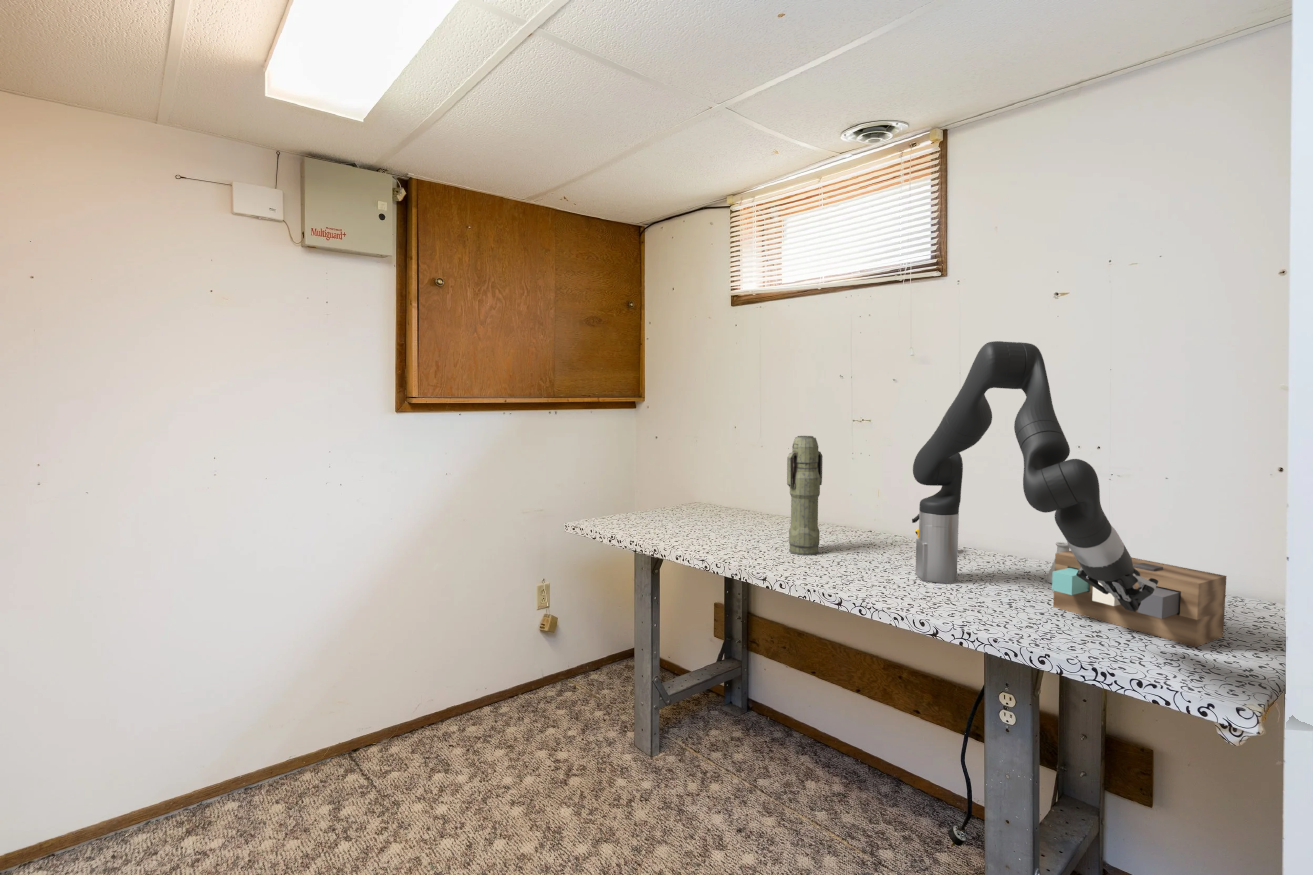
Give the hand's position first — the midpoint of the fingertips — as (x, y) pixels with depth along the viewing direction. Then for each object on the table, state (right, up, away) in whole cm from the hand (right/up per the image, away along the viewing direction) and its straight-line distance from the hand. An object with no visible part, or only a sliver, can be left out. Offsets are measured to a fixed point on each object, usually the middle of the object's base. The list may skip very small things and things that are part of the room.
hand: (1132, 606), depth 117 cm
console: (+12, -7, +16) cm, 21 cm away
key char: (+10, -2, +5) cm, 11 cm away
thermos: (-43, -4, +76) cm, 87 cm away
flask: (+15, -6, +43) cm, 46 cm away
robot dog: (-7, -4, +71) cm, 72 cm away
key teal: (+2, -1, +19) cm, 20 cm away
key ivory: (+6, -2, +12) cm, 14 cm away
